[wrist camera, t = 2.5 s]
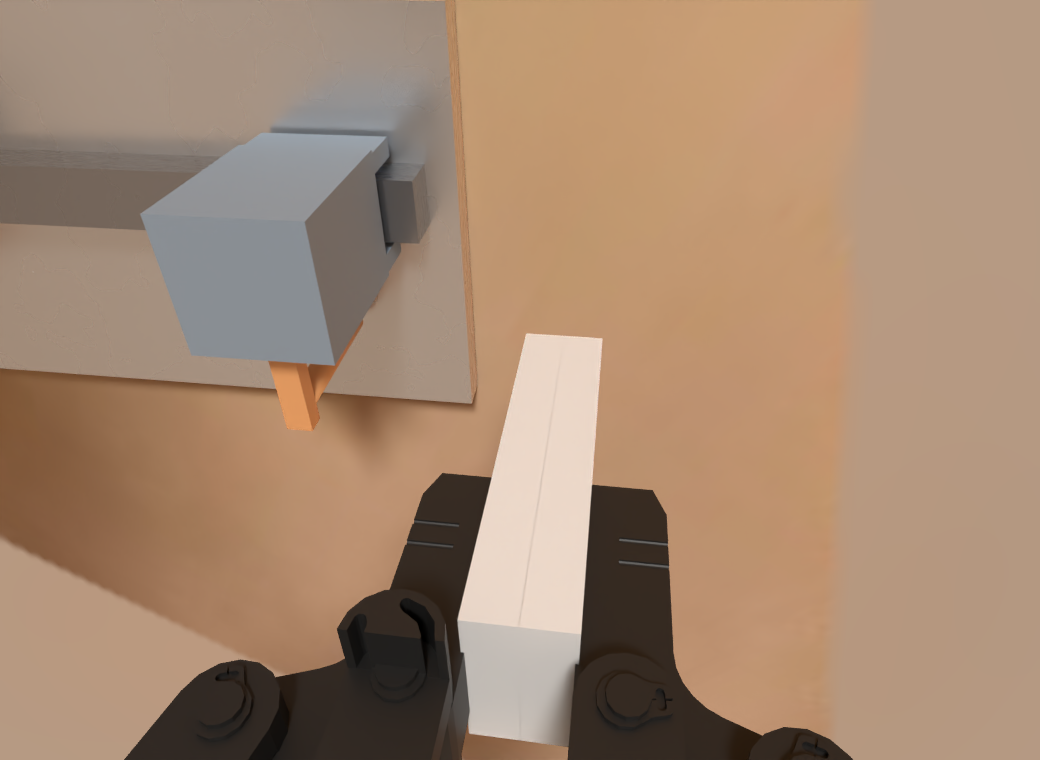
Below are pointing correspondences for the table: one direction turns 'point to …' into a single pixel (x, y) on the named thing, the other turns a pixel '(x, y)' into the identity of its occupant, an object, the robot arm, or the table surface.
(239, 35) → the bolt plate
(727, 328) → the table surface
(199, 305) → the slider
